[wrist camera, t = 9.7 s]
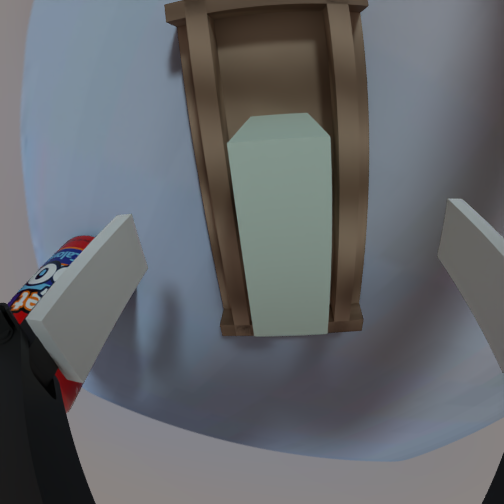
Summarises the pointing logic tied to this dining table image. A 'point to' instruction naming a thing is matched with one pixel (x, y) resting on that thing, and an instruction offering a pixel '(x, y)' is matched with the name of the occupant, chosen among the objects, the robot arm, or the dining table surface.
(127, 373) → the dining table surface
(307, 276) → the pale green block
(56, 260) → the soda can
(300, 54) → the wooden tray
